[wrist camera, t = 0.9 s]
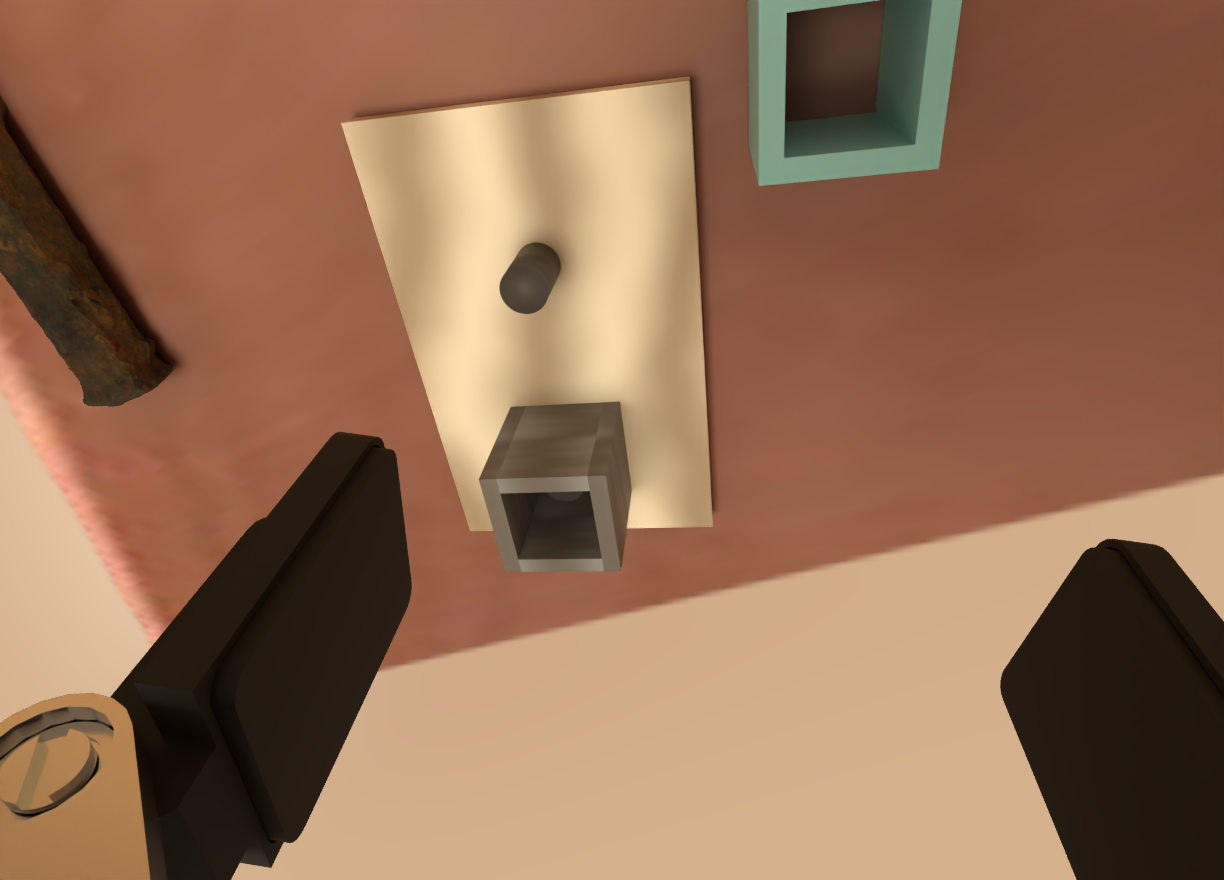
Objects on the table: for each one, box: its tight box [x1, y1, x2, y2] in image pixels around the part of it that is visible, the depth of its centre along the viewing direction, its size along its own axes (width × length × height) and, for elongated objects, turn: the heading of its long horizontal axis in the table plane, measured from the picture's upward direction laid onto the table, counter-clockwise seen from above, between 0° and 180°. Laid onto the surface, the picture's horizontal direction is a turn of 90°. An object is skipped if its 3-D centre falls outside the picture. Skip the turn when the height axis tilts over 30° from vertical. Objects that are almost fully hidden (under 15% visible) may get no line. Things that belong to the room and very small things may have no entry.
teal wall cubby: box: [747, 0, 962, 186], centre depth 23 cm, size 6×6×6 cm
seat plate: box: [341, 76, 713, 572], centre depth 30 cm, size 14×22×7 cm, turn 7°
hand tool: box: [0, 96, 173, 407], centre depth 30 cm, size 19×4×5 cm, turn 9°
